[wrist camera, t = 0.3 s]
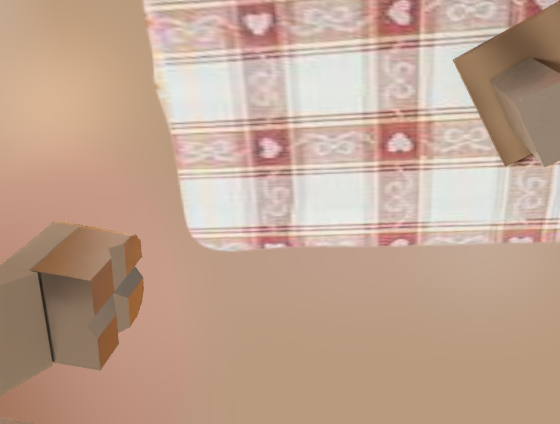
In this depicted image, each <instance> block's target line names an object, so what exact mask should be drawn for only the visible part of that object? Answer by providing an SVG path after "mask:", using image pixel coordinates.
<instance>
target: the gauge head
mask: <svg viewBox="0 0 560 424" xmlns="http://www.w3.org/2000/svg"><path fill="white" fill-rule="evenodd" d="M489 81H490V83H491V85H492V87H493V89H494V91H495V93H496V96H497V98H498V100H499V102H500V104H501V106H502V108H503V110H504V113H505V115H506V117H507V119H508V121H509V123H510V125H511V127H512V130H513V132H514V134H515V135H516V136H517V137H518V138H519V139H520V140H521V141H522V143H523V144H524V145H525V146H526V147H527V148H528V149H529V151H530V152H531V153H532V154H533V155H534V156H535V157H536V158H537V160H538V161H539V162H540V163H541V164H542V165H543V166H544V167H546V166H549V165H551V164H553V163H555V162H557V161H560V73H558V72H556V71H554V70H553V69H551V68H549V67H547V66H545V65H543V64H542V63H540V62H538V61H536V60H534V59H532V58H530V59H528V60H526V61H524V62H522V63H520V64H518V65H516V66H514V67H513V68H511V69H509V70H507V71H505V72H503V73H501V74H499V75H497V76H495V77H494V78H492V79H490V80H489Z"/></svg>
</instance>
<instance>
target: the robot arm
mask: <svg viewBox="0 0 560 424" xmlns="http://www.w3.org/2000/svg"><path fill="white" fill-rule="evenodd" d="M141 257H142V252H141V241H140V239H139V238H138V237H137V235H133V234H128V233H122V232H117V231H112V230H106V229H100V228H95V227H89V226H83V225H80V224H73V223H65V222H53V223H52V224H51V225H49V226H48V227H47V228H45V229H44V230H43V231H42V232H41V233H39V234H38V235H37V236H36V237H34V238H33V239H32V240H31V241H29V242H28V243H27V244H26V245H25V246H23V247H22V248H21V249H20V250H18V252H16V253H15V254H13V255H12V256H11V257H10V258H9V259H7V260H6V261H5V262H4V263H2V264H1V265H0V396H2V395H3V394H5V393H7V392H8V391H10V390H12V389H13V388H15V387H17V386H18V385H20V384H22V383H23V382H25V381H27V380H28V379H30V378H32V377H33V376H35V375H37V374H38V373H40V372H42V371H43V370H45V369H47V368H48V367H50V366H52V364H53V363H52V362H54V363H60V364H66V365H72V366H78V367H84V368H90V369H95V370H101V369H102V367H103V366H104V365H105V363H106V362H107V360H108V358H109V357H110V356H111V354H112V353H113V351H114V350H115V349H116V347H117V346H118V344H119V342H118V333H119V332H121V331H123V330H125V329H127V328H129V327H130V326H131V325H132V323H133V322H134V320H135V319H136V317H137V315H138V312H139V309H140V306H141V303H142V298H143V290H144V286H143V277H142V275H141V274H140V272H139V271H138V270H137V268H136V267H135V265H136V264H137V262H138V261H139V260H140V259H141ZM0 424H34V423H30V422H25V421H20V420H16V419H11V418H7V417H2V416H0Z"/></svg>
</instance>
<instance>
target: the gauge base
mask: <svg viewBox="0 0 560 424" xmlns="http://www.w3.org/2000/svg"><path fill="white" fill-rule="evenodd" d="M530 58H532V59H534V60H536V61H538V62H540V63H542V64H543V65H545V66H547V67H549V68H551V69H553V70H554V71H556V72H558V73H560V1H558V2H557V3H555V4H553V5H551V6H549V7H548V8H546V9H544V10H542V11H540V12H539V13H537V14H535V15H533V16H531V17H530V18H528V19H526V20H524V21H522V22H520V23H519V24H517V25H515V26H513V27H511V28H510V29H508V30H506V31H504V32H502V33H501V34H499V35H497V36H495V37H493V38H491V39H490V40H488V41H486V42H484V43H482V44H481V45H479V46H477V47H475V48H473V49H472V50H470V51H468V52H466V53H464V54H462V55H461V56H459V57H457V58H455V59H453V61H454V63H455V65H456V68H457V70H458V72H459V74H460V76H461V78H462V80H463V82H464V84H465V86H466V88H467V90H468V92H469V94H470V96H471V98H472V100H473V102H474V105H475V107H476V109H477V111H478V113H479V115H480V117H481V119H482V121H483V123H484V125H485V127H486V129H487V131H488V133H489V135H490V137H491V140H492V142H493V144H494V146H495V148H496V150H497V152H498V154H499V156H500V158H501V160H502V162H503V163H504V165H505V166H507V165H510V164H512V163H514V162H516V161H518V160H520V159H523V158H525V157H527V156H529V155H531V154H532V153H531V152H530V151H529V149H528V148H527V147H526V146H525V145H524V144H523V143H522V141H521V140H520V139H519V138H518V137H517V136H516V135H515V134H514V132H513V130H512V127H511V125H510V123H509V121H508V119H507V117H506V115H505V113H504V110H503V108H502V106H501V104H500V102H499V100H498V98H497V96H496V93H495V91H494V89H493V87H492V85H491V83H490V81H489V80H490V79H492V78H494V77H495V76H497V75H499V74H501V73H503V72H505V71H507V70H509V69H511V68H513V67H514V66H516V65H518V64H520V63H522V62H524V61H526V60H528V59H530Z"/></svg>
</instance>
